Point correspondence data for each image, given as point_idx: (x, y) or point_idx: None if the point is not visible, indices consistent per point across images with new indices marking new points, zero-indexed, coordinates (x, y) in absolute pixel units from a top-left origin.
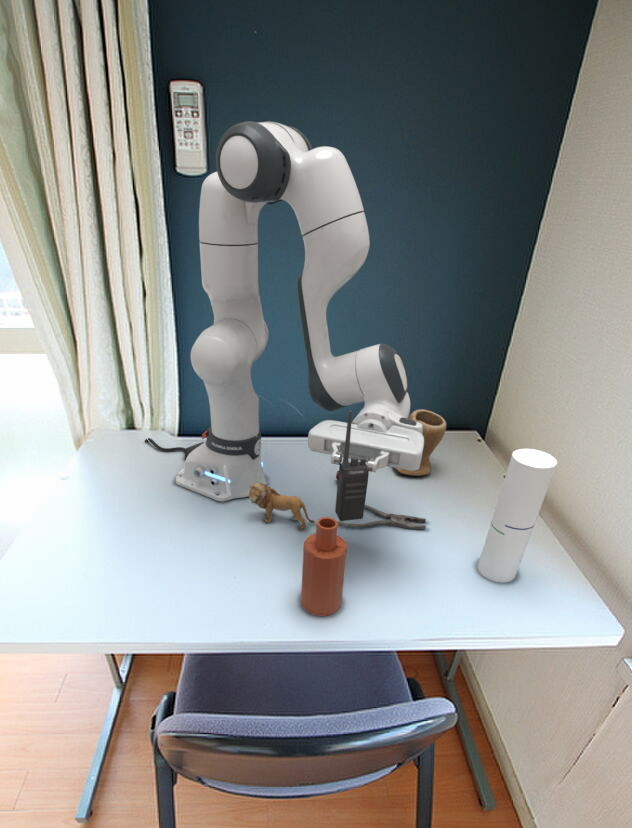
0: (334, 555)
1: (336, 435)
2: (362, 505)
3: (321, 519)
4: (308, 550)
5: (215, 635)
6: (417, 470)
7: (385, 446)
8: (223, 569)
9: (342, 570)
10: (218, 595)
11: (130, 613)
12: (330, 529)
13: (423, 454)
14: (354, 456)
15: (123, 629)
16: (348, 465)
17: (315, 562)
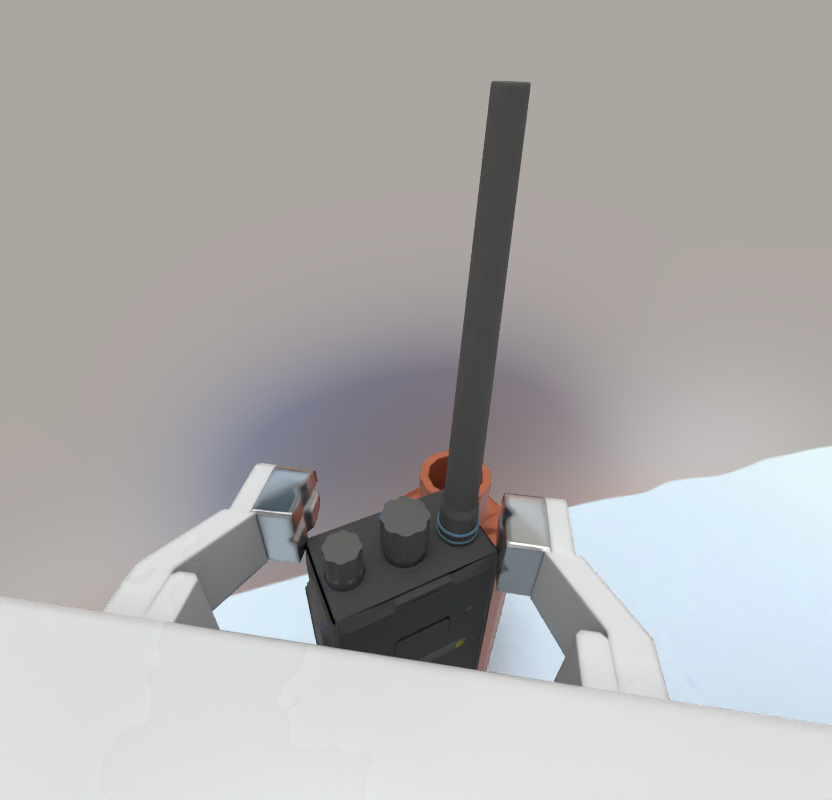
0: (413, 497)
1: (706, 763)
2: None
3: (480, 485)
4: (488, 501)
5: (596, 509)
6: None
7: (112, 632)
8: (746, 708)
9: None
10: (672, 604)
11: (771, 518)
12: (437, 453)
13: None
14: (409, 532)
15: (741, 488)
16: (436, 525)
17: None
